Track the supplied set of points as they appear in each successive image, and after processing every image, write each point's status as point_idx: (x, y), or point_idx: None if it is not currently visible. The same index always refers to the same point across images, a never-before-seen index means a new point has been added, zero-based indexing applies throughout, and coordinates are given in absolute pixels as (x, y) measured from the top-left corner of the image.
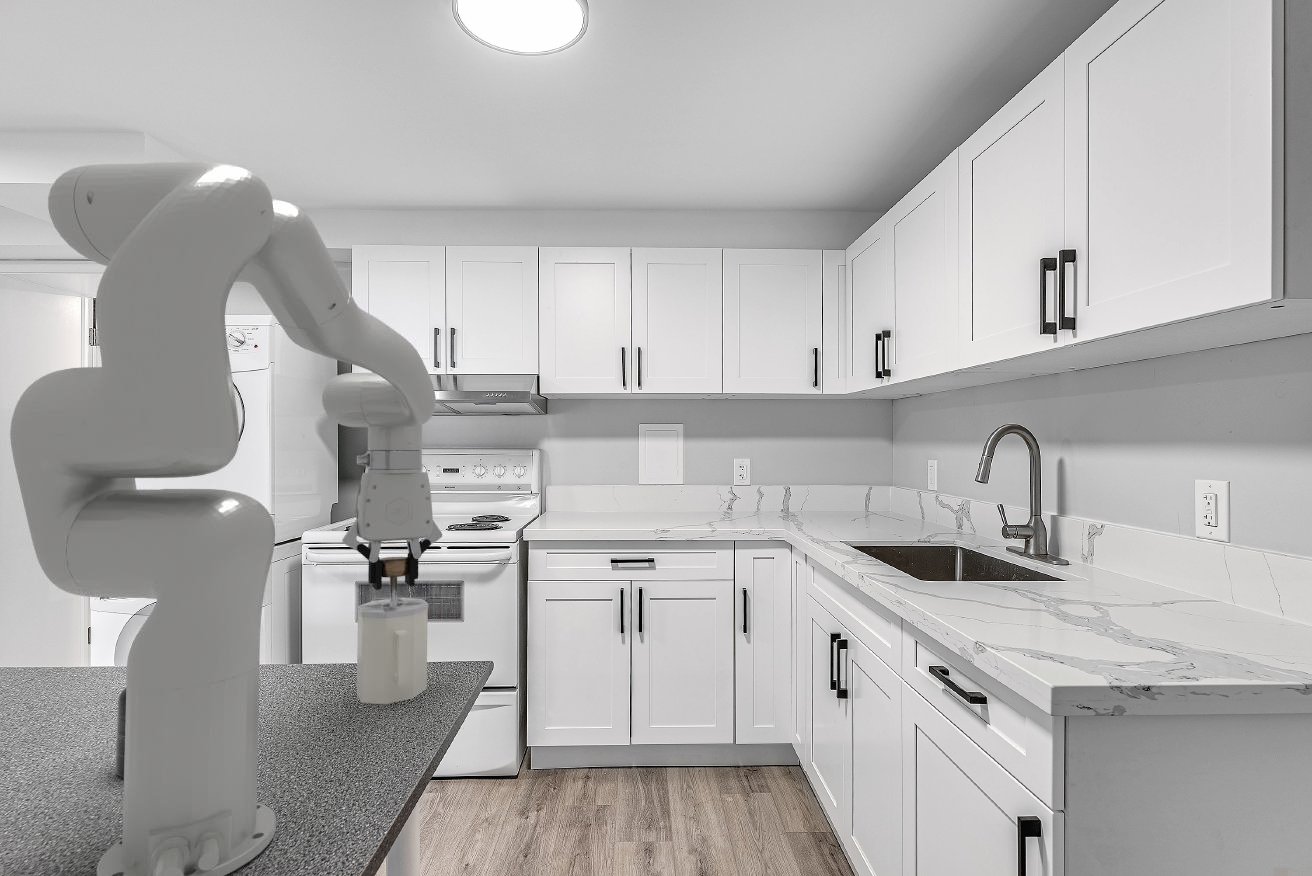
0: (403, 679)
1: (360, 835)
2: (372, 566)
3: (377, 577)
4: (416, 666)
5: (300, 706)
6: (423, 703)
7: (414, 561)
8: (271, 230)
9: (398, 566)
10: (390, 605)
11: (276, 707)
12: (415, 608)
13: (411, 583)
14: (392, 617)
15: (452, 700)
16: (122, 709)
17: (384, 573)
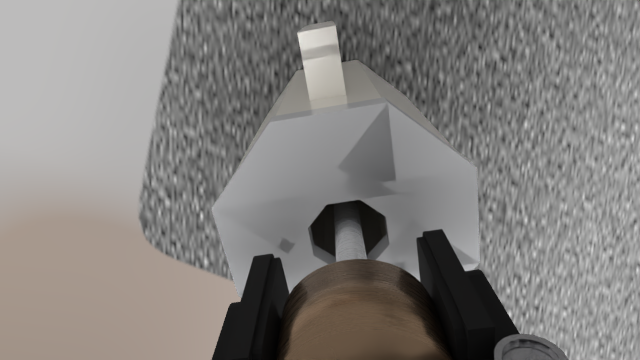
0: (319, 23)
1: None
2: (505, 330)
3: (455, 261)
4: (282, 95)
5: (522, 127)
6: (274, 28)
7: (230, 348)
8: None
9: (339, 302)
10: (359, 229)
11: (565, 142)
12: (264, 133)
13: (268, 256)
14: (359, 101)
15: (208, 18)
16: None
17: (417, 290)
